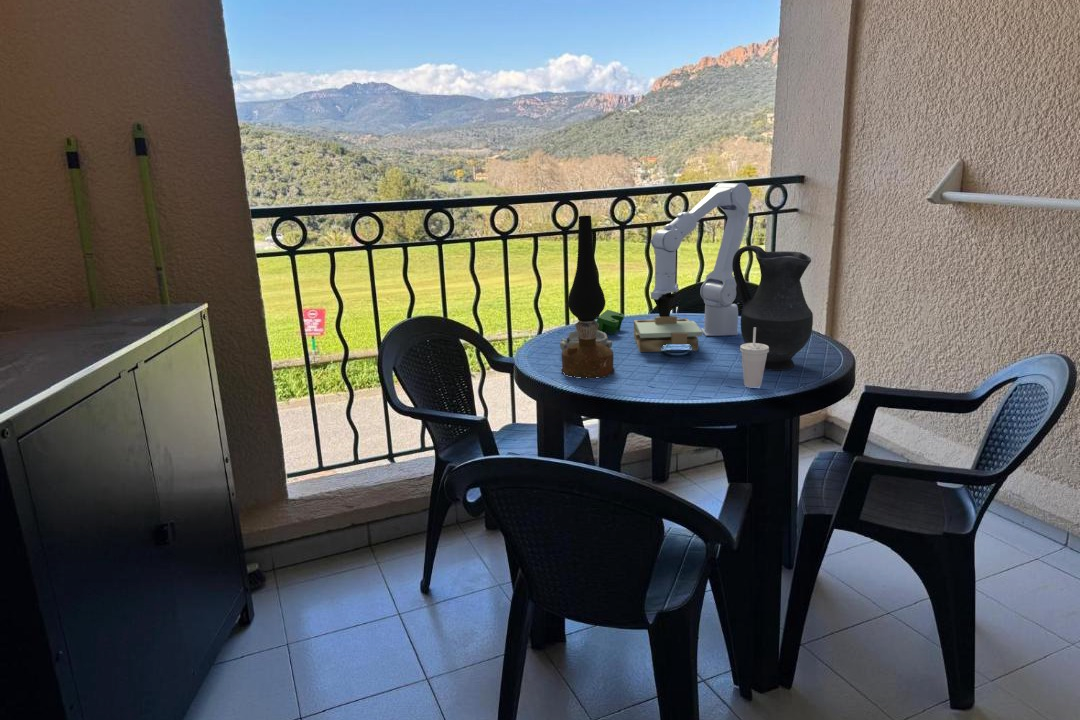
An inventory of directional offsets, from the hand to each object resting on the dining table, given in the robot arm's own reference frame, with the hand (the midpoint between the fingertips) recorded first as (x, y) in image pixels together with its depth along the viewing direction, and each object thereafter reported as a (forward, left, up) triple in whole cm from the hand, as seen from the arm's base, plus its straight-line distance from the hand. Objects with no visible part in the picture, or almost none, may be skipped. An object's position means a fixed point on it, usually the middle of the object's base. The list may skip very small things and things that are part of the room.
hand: (664, 319), depth 194 cm
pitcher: (-23, +23, -7) cm, 33 cm away
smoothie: (-15, +40, -7) cm, 43 cm away
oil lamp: (+23, +25, -7) cm, 35 cm away
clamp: (+15, -14, -7) cm, 22 cm away
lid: (0, +8, -3) cm, 8 cm away
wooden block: (+6, +7, -4) cm, 10 cm away
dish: (+23, +7, -7) cm, 25 cm away
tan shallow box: (0, 0, -7) cm, 7 cm away
